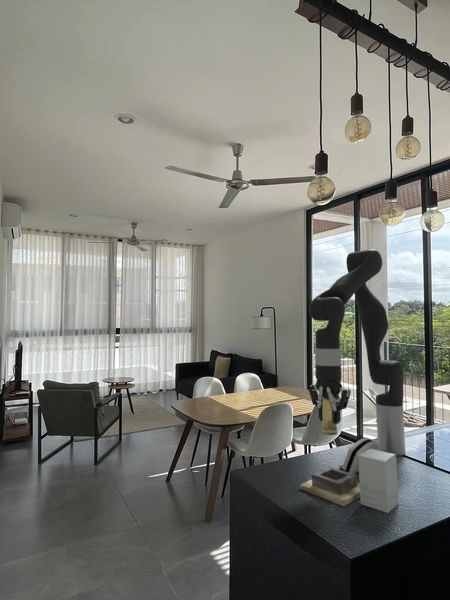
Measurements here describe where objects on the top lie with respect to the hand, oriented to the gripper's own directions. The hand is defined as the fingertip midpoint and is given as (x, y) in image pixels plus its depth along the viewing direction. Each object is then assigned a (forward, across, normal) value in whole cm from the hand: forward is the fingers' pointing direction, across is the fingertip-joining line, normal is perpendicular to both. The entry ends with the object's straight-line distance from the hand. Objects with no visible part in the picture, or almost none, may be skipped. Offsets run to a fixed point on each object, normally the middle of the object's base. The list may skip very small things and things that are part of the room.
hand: (329, 421), depth 110 cm
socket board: (+18, -3, +2) cm, 18 cm away
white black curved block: (+18, +2, -20) cm, 27 cm away
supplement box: (+18, -15, 0) cm, 24 cm away
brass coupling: (+3, 0, 0) cm, 3 cm away
